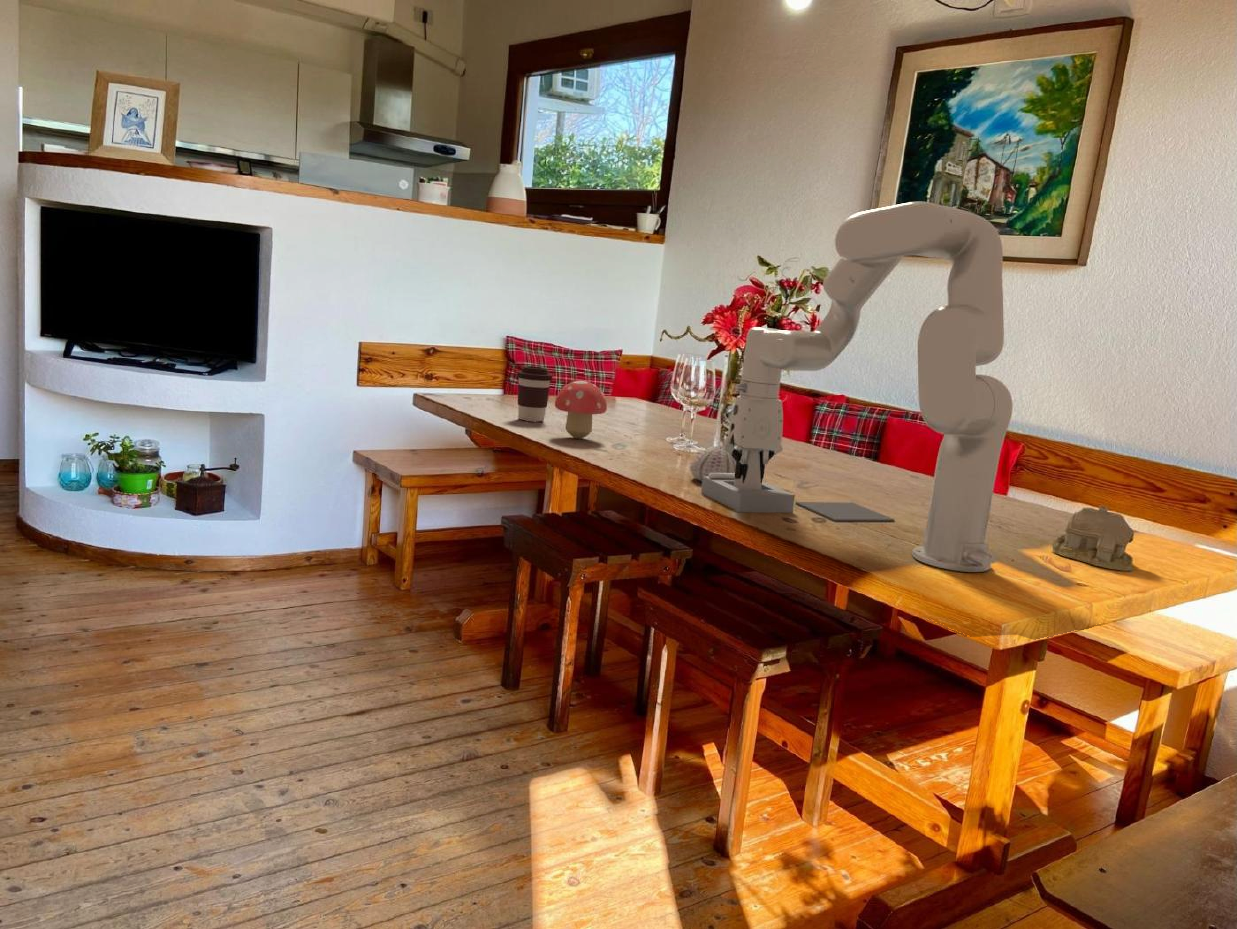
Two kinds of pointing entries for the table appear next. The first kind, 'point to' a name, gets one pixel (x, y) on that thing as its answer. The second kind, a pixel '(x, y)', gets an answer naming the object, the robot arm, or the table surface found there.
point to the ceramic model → (1097, 539)
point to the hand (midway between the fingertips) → (748, 481)
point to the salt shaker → (751, 472)
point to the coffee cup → (533, 392)
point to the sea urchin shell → (712, 462)
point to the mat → (843, 511)
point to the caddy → (746, 495)
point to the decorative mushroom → (580, 406)
